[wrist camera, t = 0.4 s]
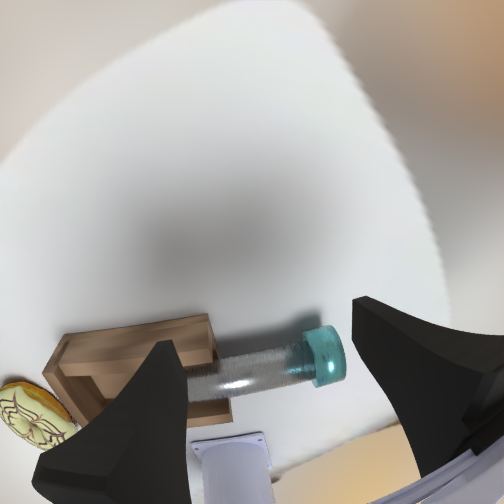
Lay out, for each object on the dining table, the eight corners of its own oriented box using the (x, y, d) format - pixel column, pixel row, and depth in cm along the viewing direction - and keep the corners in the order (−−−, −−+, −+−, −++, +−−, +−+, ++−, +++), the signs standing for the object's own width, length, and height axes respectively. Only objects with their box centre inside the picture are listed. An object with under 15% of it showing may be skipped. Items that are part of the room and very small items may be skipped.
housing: (207, 313, 21) (208, 358, 16) (228, 387, 24) (234, 431, 19) (64, 334, 20) (41, 373, 15) (102, 399, 23) (91, 439, 18)
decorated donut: (93, 418, 24) (86, 445, 21) (62, 443, 26) (55, 464, 22) (15, 360, 21) (0, 384, 17) (-3, 396, 22) (-13, 416, 18)
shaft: (325, 313, 22) (347, 348, 18) (325, 356, 23) (344, 391, 19) (139, 349, 21) (129, 389, 17) (157, 387, 22) (152, 426, 18)
